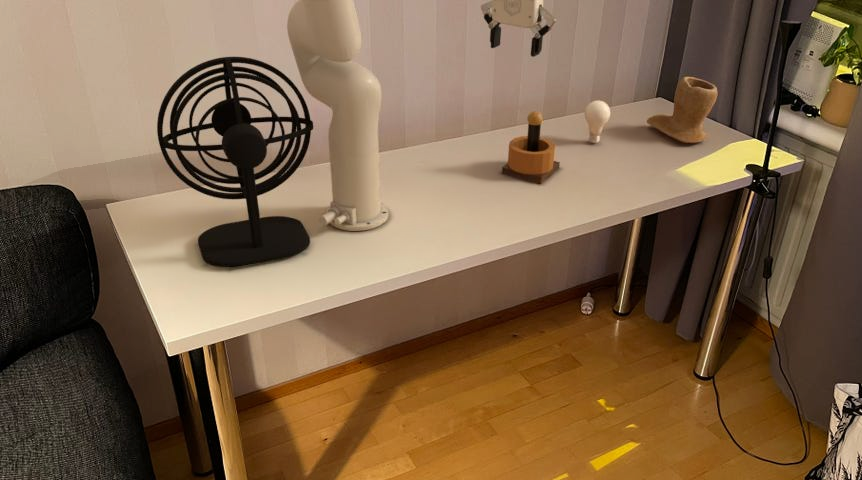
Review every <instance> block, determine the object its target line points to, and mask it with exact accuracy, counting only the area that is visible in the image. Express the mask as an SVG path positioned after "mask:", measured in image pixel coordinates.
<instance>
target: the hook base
mask: <svg viewBox="0 0 862 480" xmlns="http://www.w3.org/2000/svg"><path fill="white" fill-rule="evenodd" d="M559 169H560V161H556V160H554V162H553V169H552V170H550V171H549V172H547V173H543V174H535V175H531V174H523V173H519V172H516V171H514V170H512V169H511V168H510V167H509V166H508V162H507V163H506V164H505V165H503V166H502V167H501V174H503V175H507V176H510V177H514V178H517V179H522V180H525V181H529V182H532V183H536V184H540V185H542V184H543V183H544V182H545V181H546V180H547V179H549V178H550V177H551V176H552V175H553V174H554V173H556V172H557V171H559Z"/></svg>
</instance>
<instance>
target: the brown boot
mask: <svg viewBox="0 0 862 480" xmlns="http://www.w3.org/2000/svg"><path fill="white" fill-rule="evenodd" d="M717 97H718V88H717V86H716V85H715V84H713V83H711V82H709V81H707V80H704V79H702V78H697V77H695V76H694V77H693V76H684V77H682V78H681V79H680V80H679V81H678V83H677V85H676V88H675V92H674V97H673V98H674V100H673V112H672V115H670V114H665V113H664V114H663V113H662V114H661V113H660V114H655V115H653V116H651V117H650V116H649V118H647V119H646V123H647V124H648V125H650V126H651V127H653V128H654V129H656V130H658V131H660V132H661V133H663V134H664V135H667V136H669V137H670V138H672V139H675V140H677V141H679V142H682V143H685V144H695V143H701V142H704V141H705V140H706V139H707V138H708V136H707V134H706V133H705V132H704V131H703V129H702V125H703V123H704V121H705V119H706V118H707V116H708V115H709V114H710V112H711V110H712V108H713V107H714V105H715V103H716V101H717Z"/></svg>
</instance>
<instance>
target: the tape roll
mask: <svg viewBox="0 0 862 480" xmlns="http://www.w3.org/2000/svg"><path fill="white" fill-rule="evenodd" d="M527 136H528V135H522V136H518V137H514V138H512V139H511V140H509V143H508V153H507V154H508V155H507V156H508V157H507V163H508V166H509V167H510V168H511V169H512V170H514V171H516V172H519V173H523V174H531V175H535V174H543V173H547V172H549V171H550V170H552V169H553V162H554V161H555V151H556V145H555V143H554V142H553V141H552V140H550V139H548V138H545V137H541V136H540V140H539V152H530V151H526V149H527Z"/></svg>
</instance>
